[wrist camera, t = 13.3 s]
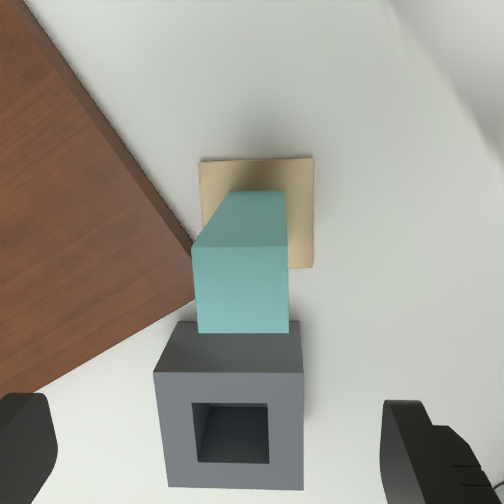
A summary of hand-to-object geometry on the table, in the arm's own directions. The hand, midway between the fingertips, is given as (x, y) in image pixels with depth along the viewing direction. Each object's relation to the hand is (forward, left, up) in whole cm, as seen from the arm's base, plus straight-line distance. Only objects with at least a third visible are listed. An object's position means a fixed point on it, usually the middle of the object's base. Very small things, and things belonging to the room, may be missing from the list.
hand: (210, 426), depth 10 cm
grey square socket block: (+2, +14, -22) cm, 26 cm away
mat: (0, 0, -22) cm, 22 cm away
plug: (0, 0, -21) cm, 21 cm away
